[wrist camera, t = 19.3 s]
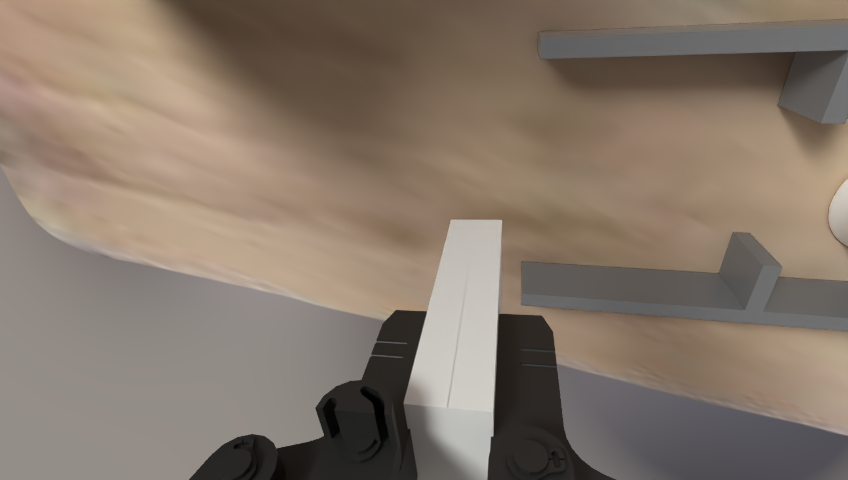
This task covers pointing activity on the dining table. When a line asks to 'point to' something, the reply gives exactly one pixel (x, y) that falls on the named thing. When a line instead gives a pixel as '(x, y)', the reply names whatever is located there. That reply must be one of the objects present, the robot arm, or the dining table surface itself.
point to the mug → (839, 214)
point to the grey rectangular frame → (745, 257)
